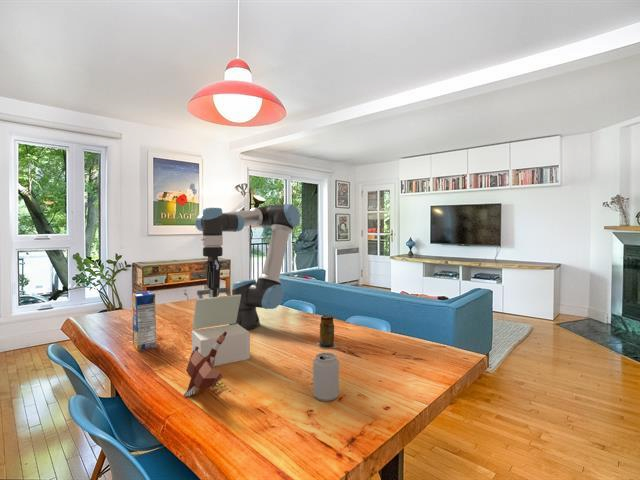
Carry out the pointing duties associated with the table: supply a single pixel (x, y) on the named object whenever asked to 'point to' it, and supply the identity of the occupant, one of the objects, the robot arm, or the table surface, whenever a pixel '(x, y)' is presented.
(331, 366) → the can
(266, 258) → the robot arm
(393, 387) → the table surface
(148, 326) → the beverage box
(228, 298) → the lid flap
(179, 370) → the table surface
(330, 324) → the condiment
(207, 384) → the decorative bird
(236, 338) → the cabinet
